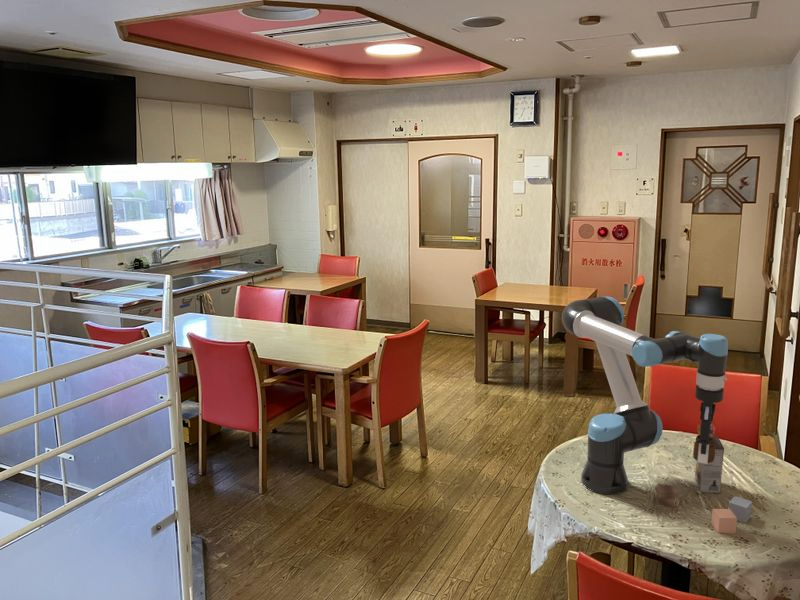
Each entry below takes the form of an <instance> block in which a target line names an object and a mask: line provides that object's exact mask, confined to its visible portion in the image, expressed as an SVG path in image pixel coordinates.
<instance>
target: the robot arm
mask: <svg viewBox="0 0 800 600" xmlns="http://www.w3.org/2000/svg"><path fill="white" fill-rule="evenodd" d="M624 318H625V311H624V308H623V306H622V305H621V303H620V302H619V301H618V300H617V299H616V298H613V297H612V296H598V297H591V298H586V299H585V298H584V299H576V300H574V301H571V302H570V303H568V304H567V305H566V306H565V307H564V309H563V311H562V313H561V323H562V325H563V327H564V329H565V330H566V331H567V332H568V333H570V334H572V335H574V336H575V337H578V338H580V339H581V338H588V339H590V340H592V341H593V342H595V344H596V345H595V346H596V349H597V351H598V354H599V357H600V360H601V363H602V366H603V369H604V372H605V376H606V378H607V381H608V384H609V387H610V391H611V394H612V397H613V400H614V403H615V406H616V408H615V409H614V411H613V413H610V412H609V413H601V414H600V413H599V414H597V415H595V416H594V417H592V418H591V419H590V421H589V425H588V429H587V434H588V435H587V438H588V439H587V460H586V462H585V464H584V468H583V469H582V472H581V476H580V477H581V478H580V482H581V481H582V482H581V484H582V483H583V484H584V485H585V486H586V487H587V488H589V489H591V490H593V491H592V492H594V491H595V492H594V493H597V494H602V495H617V494H620V493H621V494H622V493H623V492H625V491H626V490H627V489H628V487H629V486H628V485H629V480H628V479H629V478H628V475H627V472H626V469H625V465H624V461H625V459H624V457H625V453H628V452H631V451H635V450H639V449H643V448H648V447H650V446H652V445H656V443H658V442H659V441H660V439H661V437H662V435H663V422H662V418H661V417H660V416H659V414H657V413H656V412H655V411H654V410H650V408H649V404H648V403H646V402H645V401H643V400H642V398H641V395H640V392H639V389H638V386H637V383H636V380H635V377H634V375H633V371H632V369H631V365H630V362H629V360H628V356H631V357H632V359H633V360H634V361H633V362H635V363H636V364H637V365H638V366H639V367H643V368H646V367H655V366H658V365H662V364H663V365H664V364H667V363H673V362H677V361H682V360H684V361H685V360H686V361H689V362H692V363H695V364H697V371H696V377H695V378H696V381H695V384H696V385H695V393H694V395H695V398H696V399H697V400H698V401H701V403H700V417H699V418H700V419H699V420H700V429H701V430H700V434H699V435H700V440H697V443H699V450H698V461H697V462H699V463H705V464H707V462H708V452H709V436H712V435H713V434H714V430H713V426H712V425H711V424H713V423H712V422H713V421H714V415H715V411H716V404H718V403H720V402H722V401H723V400H724V391H725V390H724V388H725V382H727V381H728V378H727V377H726V369H727V359H728V354H729V351H728V350H729V349H728V348H729V342H728V341H729V340H728V338H727V337H726V336H724V335H722V334H714V333H704V334H702V335H701V336H700V337H698V336H696V335H691V334H688V333H686V332H683V331H678V330H672V331H670V332H669V333H668V334H666V335H665V337H661V338H653V337H650V336H647V335H645V334H642V333H640V332H637V331H635V330H633V329H629V328H626V327H624V326H622V324H623V323H624V320H625V319H624ZM627 355H628V356H627ZM710 427H711V428H710ZM711 429H712V430H711ZM712 432H713V433H712ZM710 433H711V434H710ZM583 484H582V485H583ZM584 485H583V486H584ZM585 486H584V487H585ZM586 487H585V488H586ZM587 488H586V489H587ZM589 489H588V490H589ZM591 490H590V491H591Z"/></svg>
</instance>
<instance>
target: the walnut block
mask: <svg viewBox="0 0 800 600" xmlns="http://www.w3.org/2000/svg"><path fill="white" fill-rule="evenodd" d="M676 495H677V493H676V487H675V485H673V484H672V485H671V484H662V483H657V492H656V502H657V506H659V507H666V508H667V507H668V508H675V507H676Z"/></svg>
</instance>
